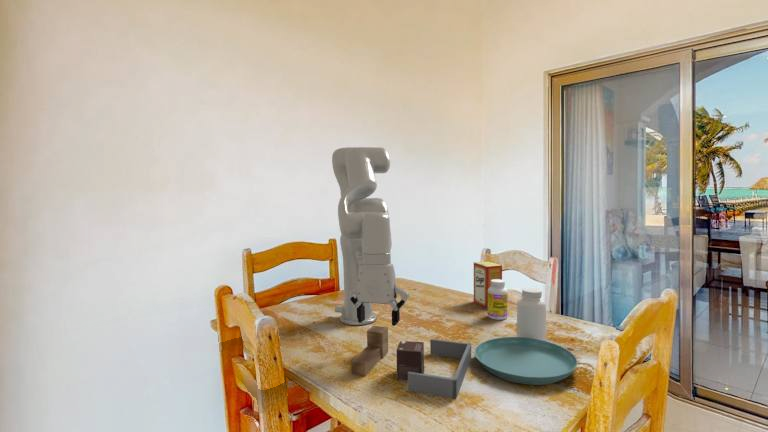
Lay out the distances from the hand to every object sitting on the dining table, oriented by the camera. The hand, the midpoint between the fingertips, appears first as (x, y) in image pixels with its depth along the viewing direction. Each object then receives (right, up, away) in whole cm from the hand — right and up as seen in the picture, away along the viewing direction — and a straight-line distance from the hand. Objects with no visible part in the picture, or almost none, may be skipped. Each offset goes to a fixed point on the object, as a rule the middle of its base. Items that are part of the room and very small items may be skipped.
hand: (378, 322), depth 108 cm
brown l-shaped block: (-2, -9, -3) cm, 10 cm away
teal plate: (+37, -9, -7) cm, 39 cm away
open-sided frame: (+15, -9, -10) cm, 21 cm away
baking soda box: (+41, -6, +47) cm, 63 cm away
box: (+8, -10, -11) cm, 17 cm away
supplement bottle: (+41, -7, +31) cm, 52 cm away
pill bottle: (+45, -8, +9) cm, 46 cm away
